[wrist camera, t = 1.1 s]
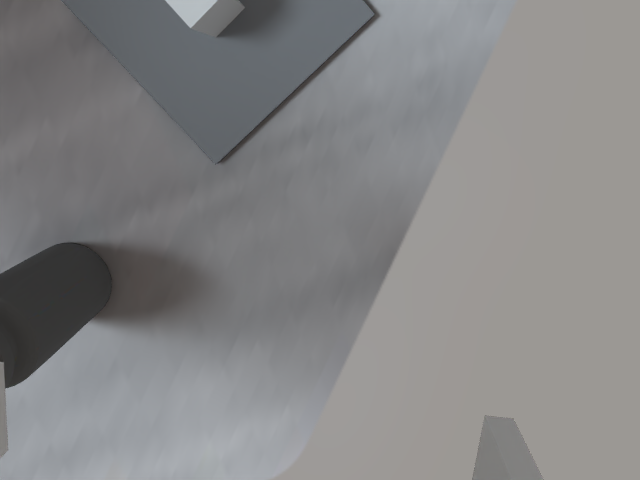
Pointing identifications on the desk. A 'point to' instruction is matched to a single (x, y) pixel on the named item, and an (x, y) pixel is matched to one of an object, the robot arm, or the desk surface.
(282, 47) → the stand
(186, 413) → the desk surface
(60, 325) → the bottle
